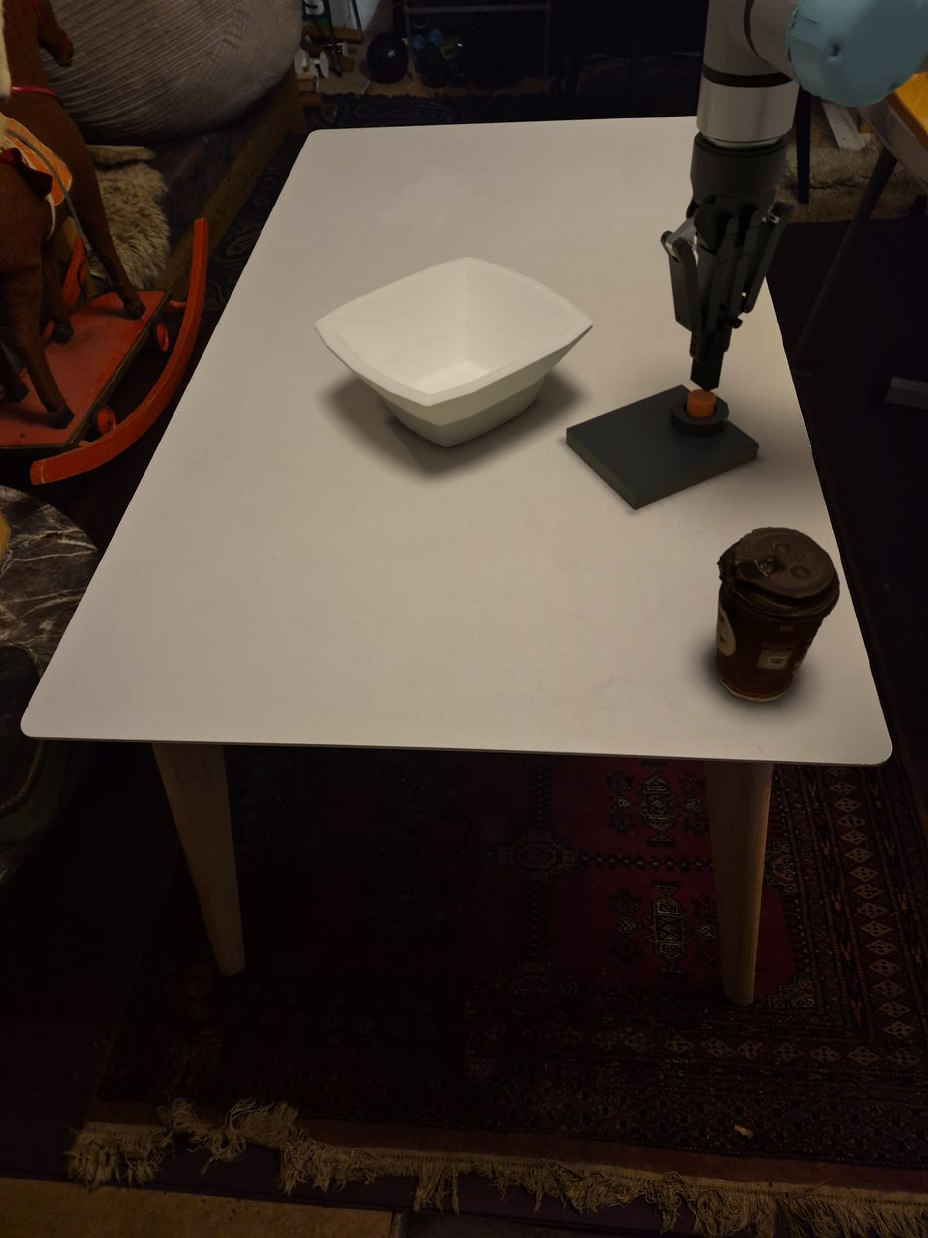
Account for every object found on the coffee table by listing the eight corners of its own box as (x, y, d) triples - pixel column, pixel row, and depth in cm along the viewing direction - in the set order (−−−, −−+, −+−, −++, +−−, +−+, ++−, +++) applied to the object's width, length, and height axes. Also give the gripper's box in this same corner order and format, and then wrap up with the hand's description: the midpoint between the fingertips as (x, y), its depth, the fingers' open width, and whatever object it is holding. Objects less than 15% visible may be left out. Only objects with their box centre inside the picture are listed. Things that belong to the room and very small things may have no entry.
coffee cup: (687, 695, 69) (708, 584, 60) (708, 622, 74) (731, 508, 65) (799, 725, 67) (840, 613, 57) (813, 647, 72) (853, 532, 62)
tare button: (702, 399, 91) (704, 385, 89) (719, 412, 89) (721, 398, 88) (680, 408, 90) (682, 394, 89) (697, 421, 88) (699, 407, 87)
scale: (681, 397, 97) (684, 370, 94) (757, 458, 89) (764, 430, 86) (565, 442, 93) (566, 415, 90) (634, 509, 85) (637, 482, 82)
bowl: (610, 402, 97) (614, 319, 89) (431, 501, 88) (419, 417, 80) (479, 324, 111) (473, 246, 103) (313, 402, 102) (293, 323, 94)
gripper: (774, 100, 73) (732, 347, 91) (648, 137, 70) (629, 386, 88) (838, 125, 69) (780, 380, 86) (705, 166, 66) (673, 422, 83)
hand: (704, 383), depth 87 cm, fingers closed
